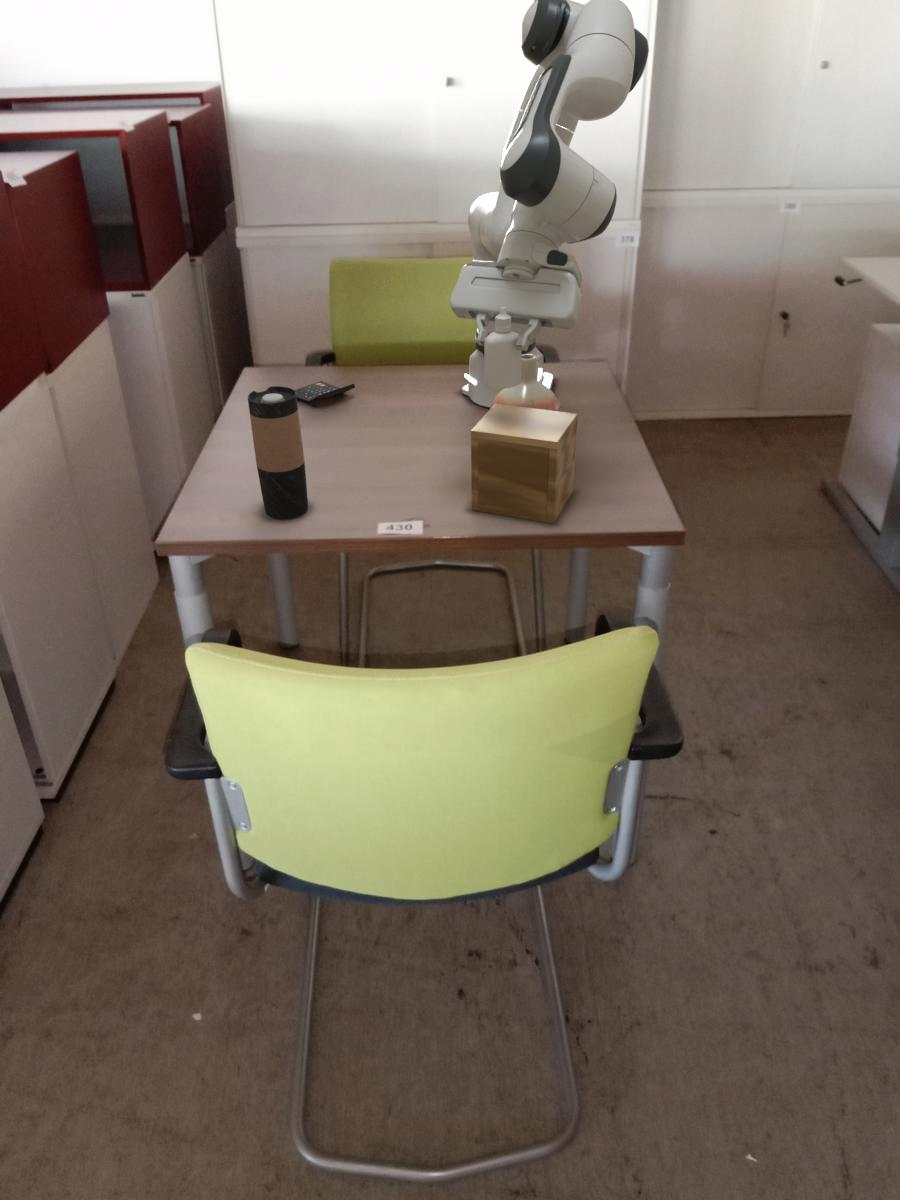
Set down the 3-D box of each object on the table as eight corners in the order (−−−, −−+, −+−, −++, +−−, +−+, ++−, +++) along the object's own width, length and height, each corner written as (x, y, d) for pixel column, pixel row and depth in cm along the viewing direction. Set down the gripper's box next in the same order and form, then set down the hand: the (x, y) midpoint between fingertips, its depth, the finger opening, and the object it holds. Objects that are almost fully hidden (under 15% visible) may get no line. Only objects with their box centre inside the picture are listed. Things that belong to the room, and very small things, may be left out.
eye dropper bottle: (486, 380, 147) (486, 303, 140) (521, 380, 146) (523, 303, 139) (483, 389, 143) (482, 311, 137) (519, 390, 142) (520, 312, 136)
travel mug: (302, 522, 150) (288, 404, 139) (257, 519, 151) (239, 402, 141) (315, 500, 157) (303, 386, 146) (272, 498, 158) (256, 384, 147)
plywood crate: (495, 479, 162) (495, 403, 154) (573, 491, 158) (577, 413, 150) (471, 510, 153) (470, 430, 145) (553, 523, 148) (557, 442, 141)
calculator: (321, 384, 203) (320, 371, 202) (356, 397, 197) (355, 384, 195) (287, 396, 198) (285, 382, 196) (321, 410, 191) (320, 396, 189)
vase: (559, 466, 166) (564, 370, 156) (483, 462, 168) (483, 368, 158) (563, 436, 177) (568, 345, 168) (492, 433, 179) (493, 342, 170)
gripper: (458, 247, 144) (433, 329, 142) (585, 258, 136) (560, 343, 134) (470, 270, 149) (446, 348, 147) (592, 281, 142) (569, 364, 140)
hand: (501, 346), depth 141 cm, fingers closed on eye dropper bottle, 5 cm apart
